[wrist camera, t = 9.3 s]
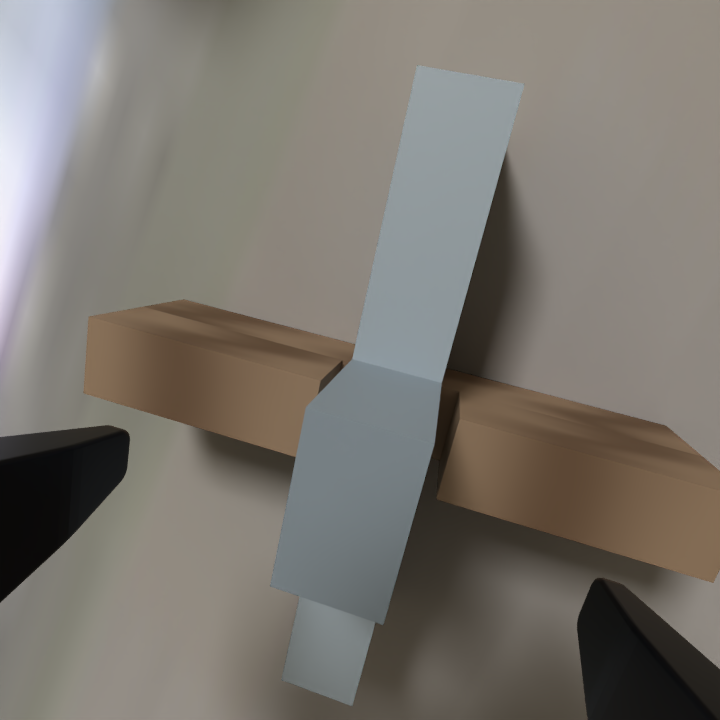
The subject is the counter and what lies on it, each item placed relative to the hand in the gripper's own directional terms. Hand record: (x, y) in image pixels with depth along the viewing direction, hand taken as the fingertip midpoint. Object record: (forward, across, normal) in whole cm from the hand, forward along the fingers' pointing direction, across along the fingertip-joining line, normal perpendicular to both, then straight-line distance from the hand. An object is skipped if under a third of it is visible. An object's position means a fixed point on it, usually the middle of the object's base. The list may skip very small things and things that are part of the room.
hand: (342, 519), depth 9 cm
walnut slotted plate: (+9, 0, 0) cm, 9 cm away
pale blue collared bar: (+9, 0, 0) cm, 9 cm away
